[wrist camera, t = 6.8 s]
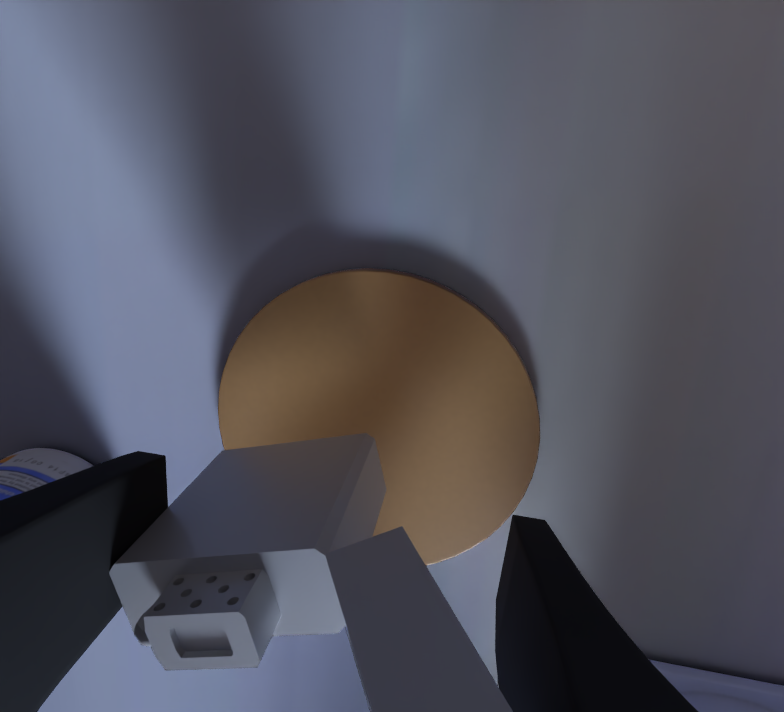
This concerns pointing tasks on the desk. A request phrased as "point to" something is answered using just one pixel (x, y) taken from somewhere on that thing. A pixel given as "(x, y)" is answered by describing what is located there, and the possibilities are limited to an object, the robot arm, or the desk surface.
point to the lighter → (299, 577)
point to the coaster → (393, 397)
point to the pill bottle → (36, 469)
